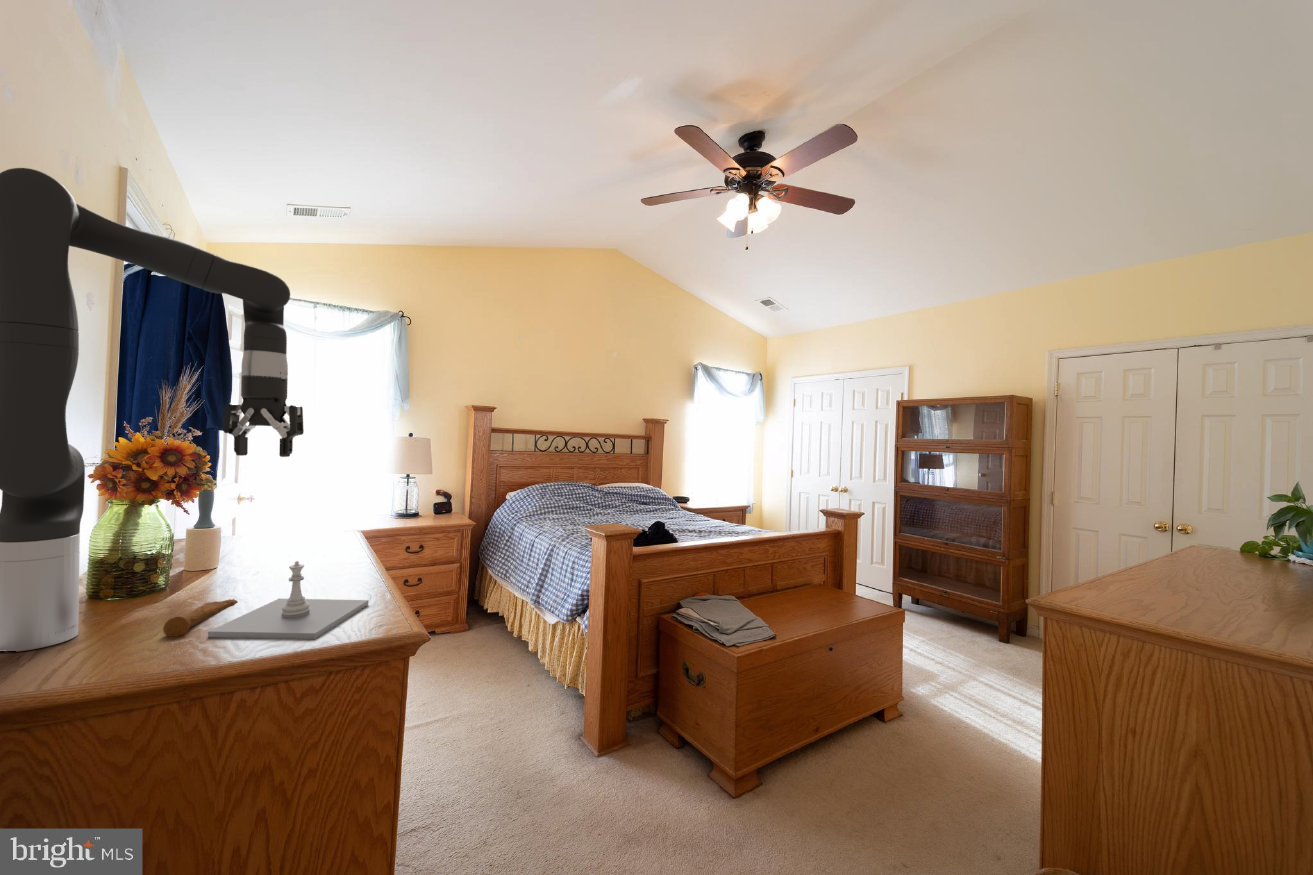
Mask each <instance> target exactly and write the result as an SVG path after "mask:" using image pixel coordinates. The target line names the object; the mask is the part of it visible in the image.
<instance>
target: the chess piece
mask: <svg viewBox="0 0 1313 875" xmlns="http://www.w3.org/2000/svg"><path fill="white" fill-rule="evenodd" d="M304 567H305V565H304V564H302V563H301V564H300V562H299V561H298V560H295V562H294V564H293V565H289V569H290V570H291V573H292V574H291V577H289V578H288V581H289V582H291V583H292V584H291V592H290V596H289V598H286V599H287V603H286V604H285V605H284V606H283V607H282V610H283V611H282V617H285V618H294V617H300V616H304V615H306V614H308V613H309V611H310V608H309V603H308V602H306V601H305V599H306V597H305V596H303V594H302V593H303V592H302V590H301V581H303V580H305V576H304V575H302V573H301V572H302V570H303V568H304Z"/></svg>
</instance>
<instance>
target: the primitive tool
mask: <svg viewBox="0 0 1313 875" xmlns="http://www.w3.org/2000/svg"><path fill="white" fill-rule="evenodd" d="M237 603H238V600H237V599H235V598H232V599H231V598H230V599H226V600H223V601H222V600H220V601H212V602H211V601H210V602H209V601H208V602H205V603H203V604H202V605H200V606H198V607H197V608H195V609H194V610H191V611H190V612H187V613H186V614H184V615H181V616H174V617H171V618H170V619H168V620H167V621H166V622H165V623H164V625H163V629H162V630H163V633H164V635H165V636H167V637H179V636H183V635H185V634H186V633H187V632H188V631H189V630H190V628H193V627H194V626H196V625H198V624H199V623H201V622H204V621H205V620H206V619H209V618H210V617H213V616H214V615H216V614H218V613H221V612H222V611H223V610H225V609H227V608H229V607H231V606H234V605H235V604H237Z"/></svg>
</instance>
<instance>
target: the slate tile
mask: <svg viewBox="0 0 1313 875" xmlns="http://www.w3.org/2000/svg"><path fill="white" fill-rule="evenodd" d="M287 599H288V598H277V599H276V600H275V599H274V600H273V601H271V602H268V603H266V604H264V605H263V606H260V607H258V608H256V609H253V610H251V611H249V612H247V613H244V614H242V615H241V616H238V617H236V618H234V619H231V620H230V621H227V622H226V623H223V624H221V625H218V626H217V627H214V628H213V629H210V630H208V631H207V638H222V639H224V638H232V639H236V638H238V639H285V640H286V639H287V640H288V639H289V640H290V639H291V640H292V639H293V640H294V639H295V640H316V639H317V638H319V637H320V636H322V635H324V634H325V633H327V632H328V631H330V630H331V629H334V627H336V626H338V625H339V624H341V623H343V622H344V621H345V620H347V619H349V618H350V617H352V616H353V615H355V614H357V613H358V612H359V610H360V611H361V610H363V609H365V608H364V607H365V606H366V607H368V606H369V600H368V599H330V598H329V599H328V598H327V599H325V598H324V599H321V598H320V599H319V598H318V599H317V598H305V601H306V602H308V603H309V608H310V611H309V613H308V614H306V615H304V616H300V617H294V618H285V617H282V611H283V610H282V607H283V606H284V605H285V604H286V603H287ZM367 605H368V606H367ZM362 608H363V609H362ZM357 611H358V612H357ZM356 612H357V613H356ZM354 613H355V614H354Z"/></svg>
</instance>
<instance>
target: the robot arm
mask: <svg viewBox="0 0 1313 875" xmlns="http://www.w3.org/2000/svg"><path fill="white" fill-rule="evenodd" d="M70 247H73V248H78V249H80V250H81V249H82V250H85V251H89V252H93V253H97V254H99V255H103V256H106V257H110V258H113V259H115V260H116V259H117V260H119V261H122V262H126V263H128V264H129V263H130V264H132V265H134V266H137V267H140V268H143V269H146V270H149V271H151V272H154V273H156V274H159V275H162V276H165V277H166V278H167V277H168V278H170V279H172V280H176V281H178V282H181V283H184V284H186V285H189V286H192V287H195V288H198V289H202V290H203V291H205V292H209V293H214V294H223V295H224V294H225V295H229V296H230V297H234V298H237V299H240V300H242V308H243V309H242V310H243V320H244V332H243V352H242V359H241V375H240V376H241V378H240V379H241V381H240V383H241V384H240V385H241V386H240V396H241V398H242V403H241V404H239V403H230V402H229V403H225V404H224V417H223V427H222V428H223V430H222V431H223V432H224V433H225V434H229V435H231V436H233V451H234V453H235V455H236V456H238V457H239V456H240V457H241V456H247V455H248V452H249V451H248V446H249V445H248V444H249V443H248V442H249V441H248V440H249V438H248V434H249V433H250V432H251V431H252V430H253V429H255V428H256V427H261V426H262V427H263V426H264V427H272V428H273V430H276V432H277V433H278V434H279V436H280V438H279V457H281V458H289V457H290V456H291V454H292V453H293V440H294V438H295V437H298V436H302V435H303V434H304V430H305V429H304V414H303V413H304V412H303V411H304V410H303V406H301V405H297V404H291V405H287V403H286V401H287V399H288V377H289V376H288V375H289V372H288V371H289V370H288V369H289V365H288V364H289V363H288V360H287V359H288V358H287V353H288V352H287V351H288V350H287V349H288V348H287V347H288V343H287V341H288V340H287V339H288V336H287V331H286V329H285V327H284V316H285V314H284V312H285V306H286V305H287V304H288V303H289V301H290V300H291V289H290V287H289V286H288V284H287V283H286V281H285V280H283V279H282V278H281V277H279V276H278V275H275V274H273V273H271V272H269V271H266V270H263V269H261V268H257V267H254V266H252V265H251V266H250V265H247V264H244V263H240V262H236V261H232V260H229V259H227V258H223V257H222V256H219V255H217V254H215V253H211V252H209V251H207V250H204V249H201V248H200V247H197V246H194V245H192V244H189V243H186V242H183V241H180V240H177V239H174V238H170V237H167V236H163V235H159V234H156V233H151V232H149V231H143V230H140V229H137V228H134V227H130V226H127V225H124V224H122V223H118V222H117V221H113V220H111V219H109V218H107V217H104V216H102V215H100V214H98V213H96V212H93V211H92V210H90V209H88V208H85V207H84V206H82V205H80V204H79V203H76V201H75V198H74V196H73V195H72V193H71V192H70V191H69V190H68V189H67V188H66V187H65V186H64V185H63V184H62V183H60V182H59V181H58V180H56V179H55V178H54V177H52V176H51V175H49V174H47V173H45V172H43V171H40V170H37V169H34V168H28V167H13V168H9V169H6V170H3V171H1V172H0V491H1V492H2V493H1V494H2V495H1V496H2V497H1V507H0V650H6V651H16V652H23V651H24V652H25V651H30V650H32V651H33V650H36V649H42V648H46V647H51V646H53V645H57V644H61V643H64V642H67V641H69V640H72V639H74V638H75V637H77V636H78V635H79V613H80V612H79V611H80V609H79V608H80V550H81V549H80V546H81V544H80V543H81V540H80V538H81V534H80V533H81V530H80V529H81V521H82V517H83V513H84V508H85V507H84V506H85V505H84V503H85V479H86V478H85V477H86V467H85V466H86V465H85V461H84V458H83V456H82V454H81V453H80V451H79V450H78V449H77V447H74V446H73V445H71V444H70V443H69V439H68V433H67V432H68V431H67V416H66V414H67V404H68V399H69V396H70V394H71V390H72V387H73V383H74V380H75V377H76V372H77V368H78V363H79V355H80V353H79V349H80V348H79V346H80V344H79V343H80V342H79V340H80V338H79V337H80V335H79V334H80V333H79V332H80V331H79V320H78V319H79V317H78V312H77V311H78V310H77V304H76V299H75V294H74V289H73V285H72V280H71V277H70V271H69V251H70ZM241 414H243V416H242V417H241V416H240V415H241ZM286 414H287V416H288V417H289V421H287V419H286V418H285V415H286ZM240 417H241V419H240Z"/></svg>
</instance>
